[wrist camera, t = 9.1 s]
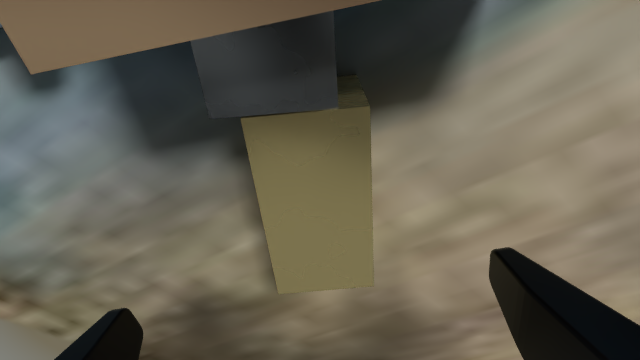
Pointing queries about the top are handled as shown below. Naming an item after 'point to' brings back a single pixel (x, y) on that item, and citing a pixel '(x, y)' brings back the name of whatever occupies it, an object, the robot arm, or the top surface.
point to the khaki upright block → (316, 192)
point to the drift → (269, 68)
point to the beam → (134, 24)
